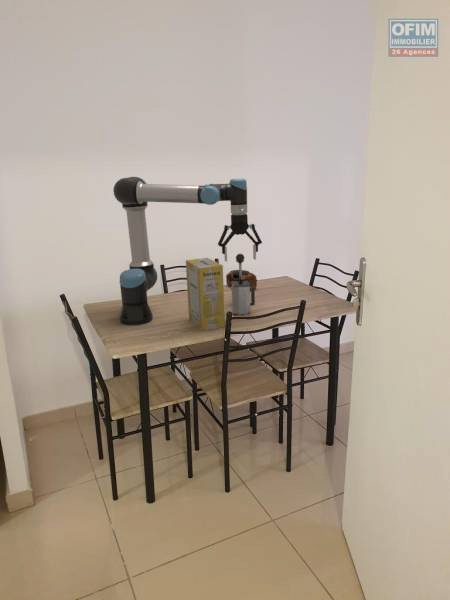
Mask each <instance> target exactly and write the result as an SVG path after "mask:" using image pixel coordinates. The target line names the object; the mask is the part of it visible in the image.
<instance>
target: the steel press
mask: <svg viewBox="0 0 450 600" xmlns="http://www.w3.org/2000/svg"><path fill="white" fill-rule="evenodd" d="M250 290H251V291H250ZM255 290H256V289H255V288H254V287H250V284H249V282H248V281H247V280H245V281H242V283H241V284H239V281H232V288H231V301H232V302H231V306H232V311H231V312H232V315H234V316H242V317H243V316H247V315H251V306H256V304H255V303H256V301H255V300H256V299H255Z"/></svg>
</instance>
